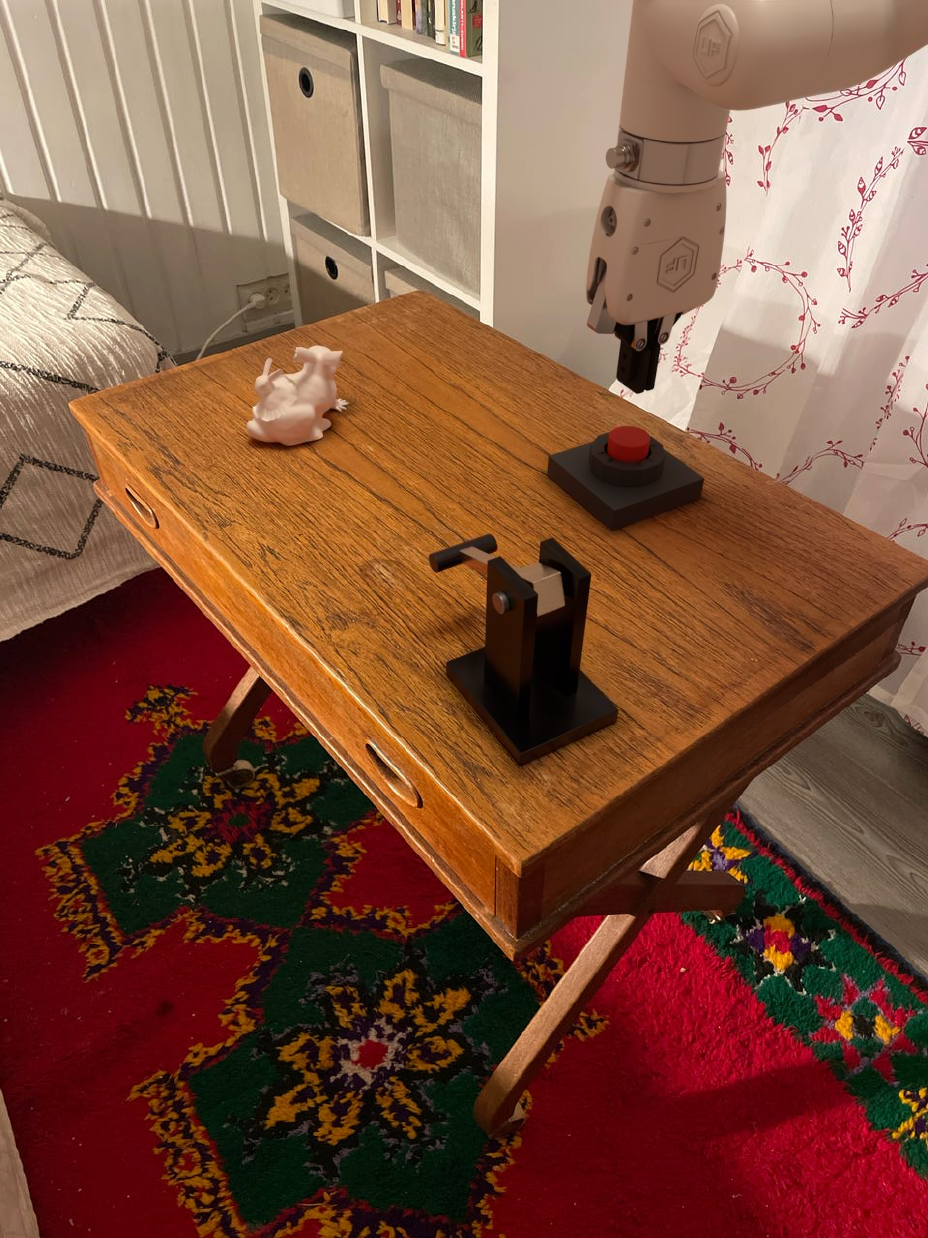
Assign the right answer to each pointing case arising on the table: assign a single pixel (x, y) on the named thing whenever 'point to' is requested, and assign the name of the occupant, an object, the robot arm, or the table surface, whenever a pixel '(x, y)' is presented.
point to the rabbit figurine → (297, 398)
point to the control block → (624, 482)
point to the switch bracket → (533, 662)
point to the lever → (534, 574)
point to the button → (628, 444)
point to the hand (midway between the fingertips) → (634, 384)
